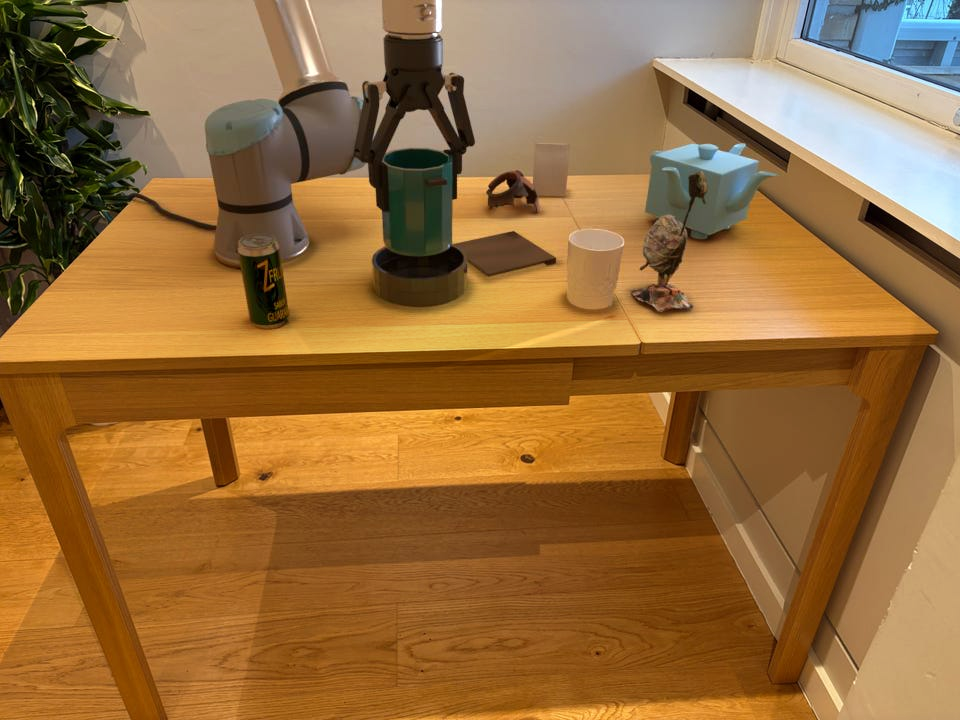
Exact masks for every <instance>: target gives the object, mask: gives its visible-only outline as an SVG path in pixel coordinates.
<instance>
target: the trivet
mask: <svg viewBox="0 0 960 720" xmlns="http://www.w3.org/2000/svg"><path fill="white" fill-rule="evenodd" d="M452 244H453V245H455V246H458V247H459V248H461V249H462V250H463V251H465V253H466V254H467V256H468V264H471V265H472V266H473V267H474V268H476V269H477V270H478V271H480V272H481V273H482V274H484V275H485V276H486V277H488V278H490V277H494V276H498V275H501V274H506V273H510V272H514V271H518V270H522V269H526V268H530V267H534V266H538V265H543V264H544V265H545V266H551V265H555V264H556V263H557V257H556V256H554V255H552V254H551V253H550V252H548V251H547V250H545V249H543V248H541V247H540V246H539V245H537V244H535V243H533V242H532V241H531V240H529V239H527V238H526V237H524V236H523V235H521V234H519V233H518V232H516V231H515V230H511V231H507V232H502V233H497V234H494V235H493V234H492V235H488V236H483V237H479V238H474V239H470V240H465V241H460V242H454V243H452Z"/></svg>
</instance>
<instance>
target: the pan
mask: <svg viewBox="0 0 960 720" xmlns="http://www.w3.org/2000/svg"><path fill="white" fill-rule="evenodd" d="M453 244H454V243H452V245H451V247H450V248H449V249H447V250H446V251H444V252H442V253H439V254H435V255H430V256H405V255H400V254H397V253H394V252H392V251H390V250H389V249H387V248H386V246H385V245H384V246H382V247H380V248H379V249H377V250H376V251H375V253H374V254H372V258H371V269H372V270H371V271H372V284H373V289H374V292H375V294H376V295H377V296H378V297H379V298H381V299H382V300H384V301H386V302H388V303H391V304H393V305H398V306H401V307H402V306H403V307H408V308H409V307H411V308H427V307H429V308H430V307H437V306H440V305H444V304H448V303H451V302H453V301H455V300H457V299H459V298H460V297H462V296H463V295H464V294H465V292H466V291H467V289H468V273H469V271H468V267H469V266H468V264H469V262H468V256H467V254H466V253H465V251H463V250H462V249H461V248H459V247H458V246H455V245H453Z"/></svg>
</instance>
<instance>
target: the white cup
mask: <svg viewBox="0 0 960 720" xmlns="http://www.w3.org/2000/svg"><path fill="white" fill-rule="evenodd" d="M567 237H568V238H567V261H566V262H567V263H566V283H567V287H566V288H567V289H566V299H567V301H568V302H569V303H570V304H571V305H573V306H575V307H577V308H581V309H585V310H601V309H606V308H608V307H609V308H611V307H612V305H613V300H614V295H615V291H616V288H617V283H618V278H619V273H620V270H621V263H622V259H623V253H624V248H625V239H624V237H623V236H622V235H620V234H618V233H616V232H614V231H610V230H606V229H602V228H581V229H578V230H575V231H572V232H571V233H570V234H569V235H568V236H567Z"/></svg>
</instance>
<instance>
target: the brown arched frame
mask: <svg viewBox="0 0 960 720" xmlns="http://www.w3.org/2000/svg"><path fill="white" fill-rule="evenodd" d="M505 182H506V185H507V186H508V188H507V189H506V190H504V191H502V192H499V193H493V192H494V191H495V189H496V188H497V187H498V186H500V185H501V184H503V183H505ZM487 187H488V189H487V190H486V191H485V194H486V196H487V206H488V208H489V209H490V210H491V209H493V208H496V209H497V208H499V207H500V208H501V207H502V208H503V207H505V206H511V207H515V199H518V200H519V199H523V197H524V198H525V201H526V205H533V206H534V209H535V213H536V214H539V213H540V209H541V206H540V202H539V201H540V200H539V196H537V192H536V190H535V189H534V186H533V182H531V180H530V179H528V178H526V177H525V176H524V173H522V171H521V170H519V169H516V170H510V171H506V172H503V173H501V174H499V175H498V176H496V177H494V178H493V180H491V181H490V182H489V184H488V186H487Z"/></svg>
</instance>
